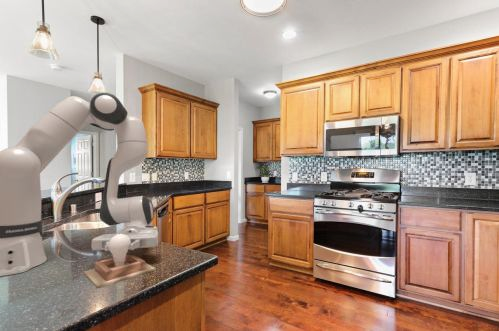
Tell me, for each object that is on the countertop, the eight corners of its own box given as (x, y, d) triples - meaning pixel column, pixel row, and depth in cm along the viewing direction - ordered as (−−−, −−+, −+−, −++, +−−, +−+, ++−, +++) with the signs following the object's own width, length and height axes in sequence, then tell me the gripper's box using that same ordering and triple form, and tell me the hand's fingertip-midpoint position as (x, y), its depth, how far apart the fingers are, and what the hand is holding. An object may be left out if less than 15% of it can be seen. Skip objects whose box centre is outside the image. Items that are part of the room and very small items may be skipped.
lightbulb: (107, 275, 73) (107, 237, 73) (109, 268, 78) (109, 233, 78) (130, 271, 75) (130, 235, 75) (130, 265, 81) (130, 231, 81)
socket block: (97, 288, 66) (97, 276, 66) (83, 273, 76) (83, 263, 76) (155, 270, 78) (155, 260, 78) (137, 259, 87) (137, 250, 87)
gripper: (101, 228, 88) (81, 239, 74) (161, 226, 91) (153, 236, 78) (101, 246, 88) (81, 260, 74) (161, 243, 91) (153, 256, 77)
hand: (118, 248), depth 76 cm, fingers closed on lightbulb, 5 cm apart
